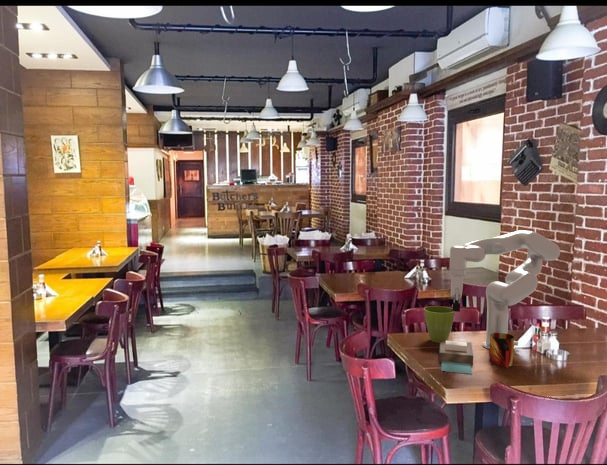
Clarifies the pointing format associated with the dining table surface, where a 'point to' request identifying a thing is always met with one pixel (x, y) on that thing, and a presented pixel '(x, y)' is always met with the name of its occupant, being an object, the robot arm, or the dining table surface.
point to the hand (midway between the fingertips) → (456, 311)
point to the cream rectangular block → (456, 345)
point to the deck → (456, 354)
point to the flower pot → (439, 322)
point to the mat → (456, 367)
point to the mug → (501, 349)
